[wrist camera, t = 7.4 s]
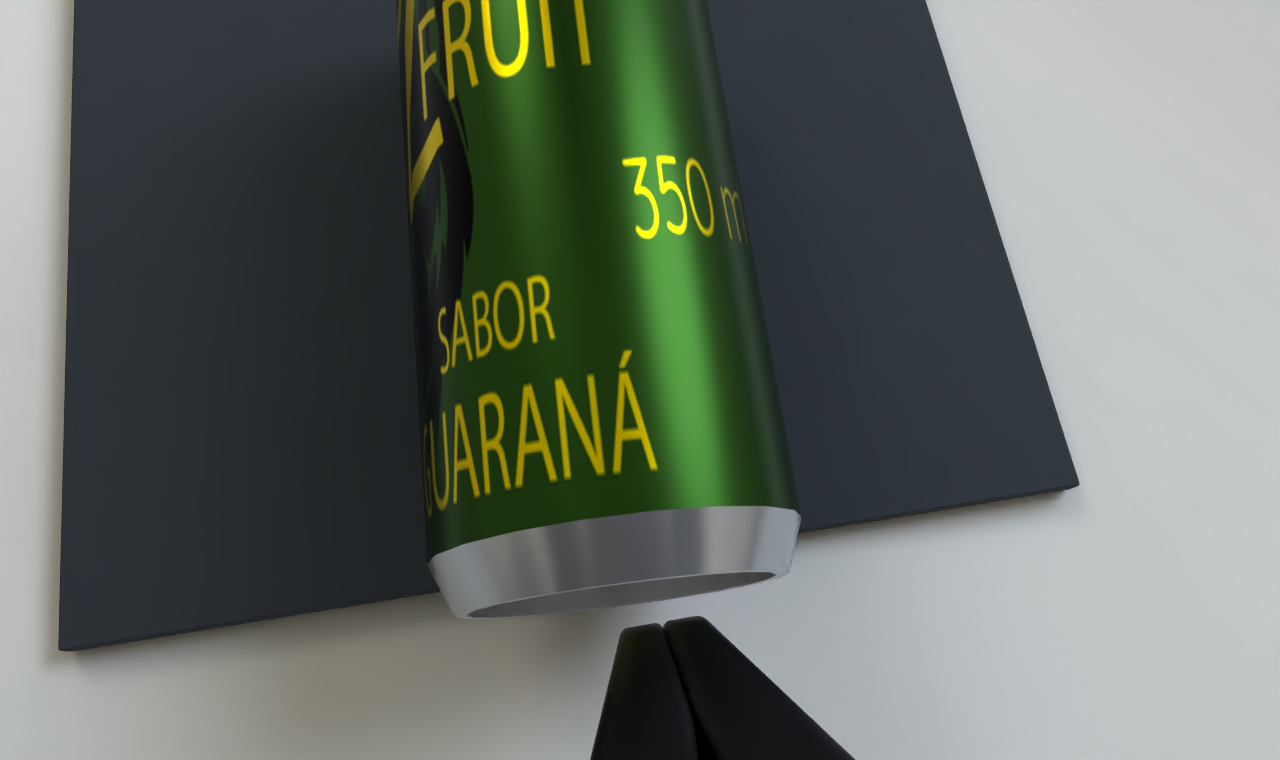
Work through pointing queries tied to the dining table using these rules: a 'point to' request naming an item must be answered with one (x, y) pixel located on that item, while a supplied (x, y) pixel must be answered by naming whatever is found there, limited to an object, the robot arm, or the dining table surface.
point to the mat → (383, 308)
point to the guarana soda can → (585, 310)
